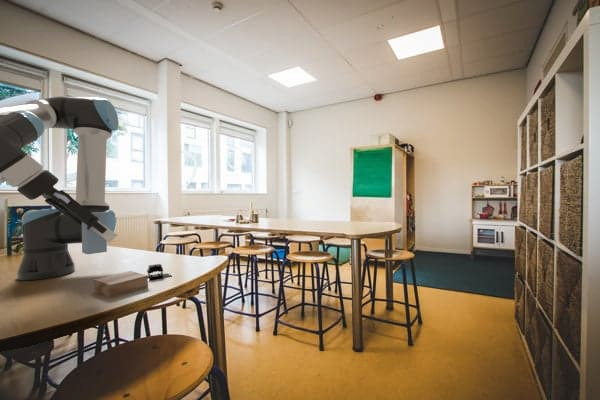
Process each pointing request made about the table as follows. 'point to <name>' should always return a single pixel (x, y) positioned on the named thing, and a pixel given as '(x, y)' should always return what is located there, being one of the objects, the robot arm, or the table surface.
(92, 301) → the table surface
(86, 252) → the tower block
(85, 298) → the table surface
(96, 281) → the base block
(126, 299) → the table surface
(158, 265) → the black piece
